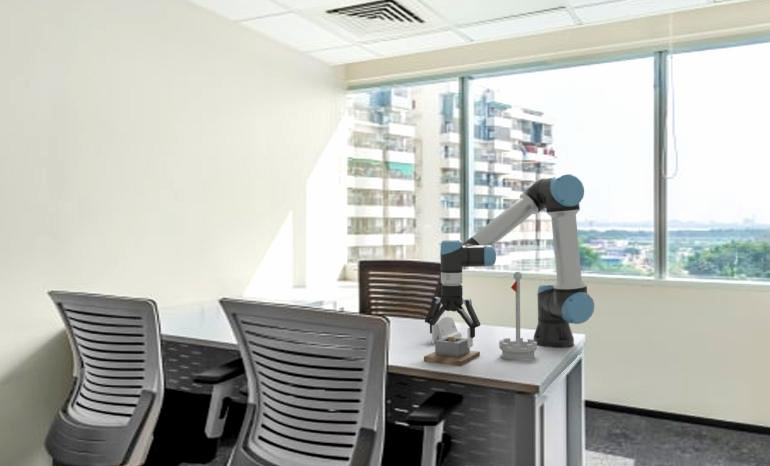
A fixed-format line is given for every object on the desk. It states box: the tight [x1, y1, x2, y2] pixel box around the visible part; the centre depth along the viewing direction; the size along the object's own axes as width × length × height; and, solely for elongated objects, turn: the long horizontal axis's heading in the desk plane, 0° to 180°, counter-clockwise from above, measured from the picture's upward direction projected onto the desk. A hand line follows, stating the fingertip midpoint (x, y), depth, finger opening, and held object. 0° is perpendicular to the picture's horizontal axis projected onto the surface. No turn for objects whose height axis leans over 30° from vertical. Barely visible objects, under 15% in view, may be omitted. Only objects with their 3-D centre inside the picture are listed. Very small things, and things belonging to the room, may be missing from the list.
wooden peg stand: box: [423, 336, 481, 367], centre depth 203 cm, size 14×16×8 cm
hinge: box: [435, 316, 463, 340], centre depth 236 cm, size 17×5×10 cm, turn 150°
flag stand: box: [498, 271, 538, 361], centre depth 205 cm, size 13×13×30 cm
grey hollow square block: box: [434, 336, 471, 358], centre depth 203 cm, size 9×9×5 cm
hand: (452, 345), depth 203 cm, fingers open, 13 cm apart
